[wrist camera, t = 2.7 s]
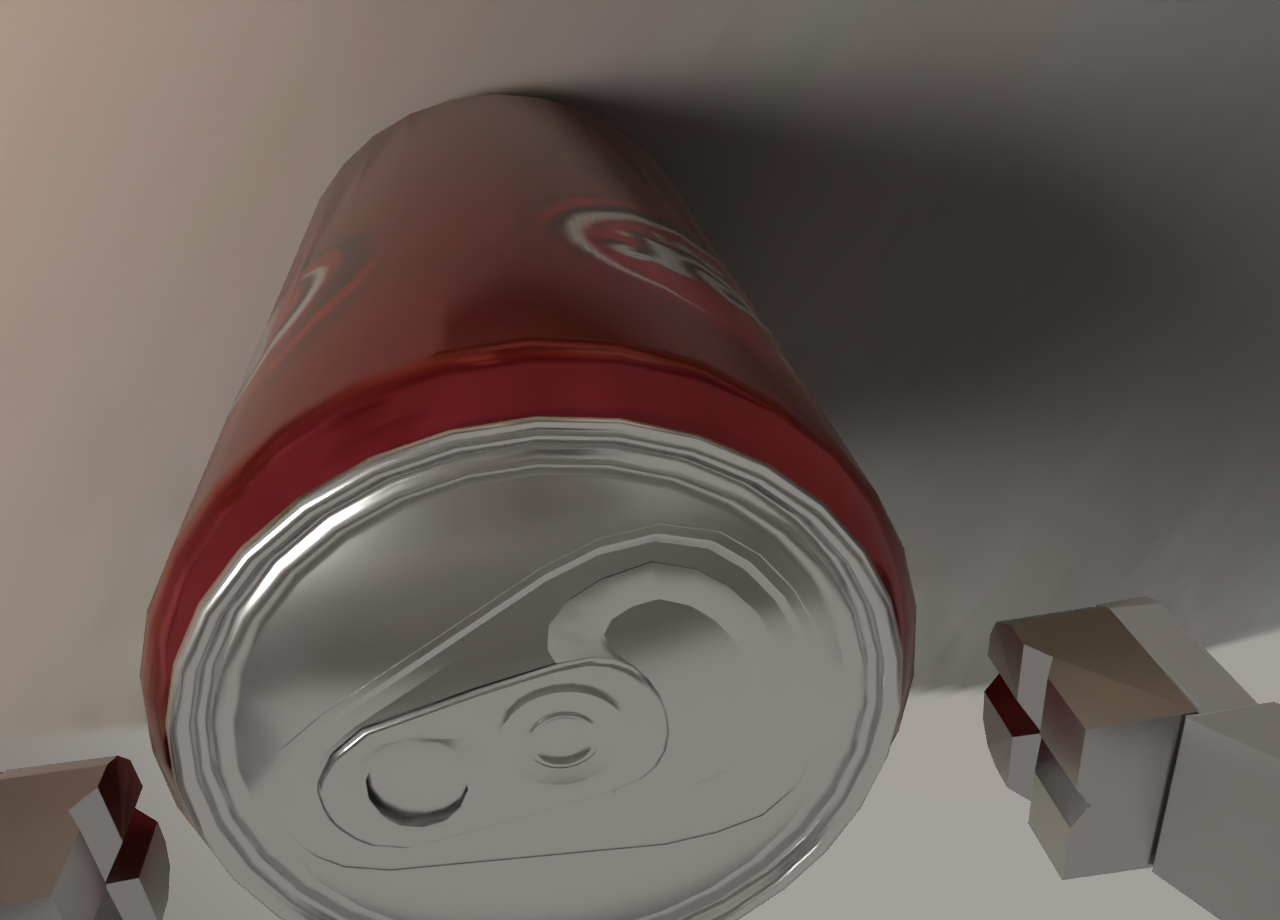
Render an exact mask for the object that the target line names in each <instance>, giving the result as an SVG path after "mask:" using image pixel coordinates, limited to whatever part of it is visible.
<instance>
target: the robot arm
mask: <svg viewBox="0 0 1280 920" xmlns="http://www.w3.org/2000/svg"><path fill="white" fill-rule="evenodd" d="M988 656H989V658H990V660H991V661H992V663H993V664H994V666H995V667H996V669H997V670H998V672H999V675H998V676H997V677H996V678H995V679H994V681H993V682H992V683H991V684H990V685H989V687H988V688H987V689H986V690H985V691H984V711H983V721H984V727H985V733H986V738H987V744H988V748H989V750H990V753H991V756H992V758H993V761H994V764H995V766H996V768H997V770H998V772H999V774H1000V775H1001V777H1002V779H1003V780H1004V782H1005V784H1006V786H1007V787H1008V788H1009V789H1011V790H1013V791H1015V792H1016V793H1018V794H1020V795H1021V796H1023V797H1025V798H1027V799H1028V800H1030V801H1031V806H1030V814H1029V825H1030V827H1031V829H1032V830H1033V832H1034V833H1035V835H1036V837H1037V839H1038V840H1039V842H1040V844H1041V845H1042V847H1043V849H1044V850H1045V852H1046V854H1047V855H1048V857H1049V859H1050V860H1051V862H1052V864H1053V866H1054V867H1055V869H1056V871H1057V872H1058V874H1059V876H1060V877H1061V879H1062V880H1066V879H1073V878H1080V877H1086V876H1093V875H1101V874H1107V873H1114V872H1121V871H1128V870H1135V869H1142V868H1149V867H1153V870H1152V872H1153V873H1155V874H1156V875H1158V876H1159V877H1160V878H1162V879H1163V880H1165V881H1166V882H1167V883H1169V884H1170V885H1172V886H1173V887H1175V888H1176V889H1177V890H1179V891H1180V892H1182V893H1183V894H1184V895H1186V896H1187V897H1189V898H1190V899H1192V900H1193V901H1194V902H1196V903H1197V904H1199V905H1200V906H1202V907H1203V908H1204V909H1206V910H1207V911H1209V912H1210V913H1211V914H1213V915H1214V916H1216V917H1217V918H1218V919H1220V920H1280V704H1278V703H1275V702H1271V703H1264V704H1257V702H1256V701H1255V700H1254V699H1253V698H1251V696H1250V695H1249V694H1248V693H1247V692H1246V691H1245V690H1244V689H1243V688H1242V687H1241V686H1240V685H1239V684H1238V683H1237V682H1236V681H1235V680H1234V679H1233V678H1232V677H1231V675H1230V674H1229V673H1228V672H1227V671H1226V670H1225V669H1224V668H1223V667H1222V666H1221V665H1220V664H1219V663H1218V662H1217V661H1216V660H1215V659H1214V658H1213V657H1212V656H1211V655H1210V654H1209V653H1208V652H1207V651H1206V649H1205V648H1204V647H1203V646H1202V645H1201V644H1200V643H1199V642H1198V641H1197V640H1196V639H1195V638H1194V637H1193V636H1192V635H1191V634H1190V633H1189V632H1188V631H1187V630H1186V629H1185V628H1184V627H1183V626H1182V625H1181V623H1180V622H1179V621H1178V620H1177V619H1176V618H1175V617H1174V616H1173V615H1172V614H1171V613H1170V612H1169V611H1168V610H1167V609H1166V608H1165V607H1164V606H1163V605H1162V604H1161V603H1160V602H1159V601H1157V600H1155V599H1152V598H1150V597H1148V596H1144V597H1139V598H1133V599H1127V600H1121V601H1116V602H1110V603H1104V604H1098V605H1096V606H1095V607H1087V608H1081V609H1074V610H1068V611H1062V612H1055V613H1049V614H1043V615H1037V616H1030V617H1024V618H1018V619H1012V620H1005V621H999V622H996V624H995V626H994V628H993V630H992V632H991V634H990V642H989V651H988ZM142 787H143V786H142V784H141V782H140V780H139V778H138V776H137V774H136V771H135V769H134V767H133V765H132V763H131V761H130V760H129V759H126V758H123V757H120V756H112V757H104V758H96V759H88V760H80V761H72V762H66V763H57V764H49V765H42V766H34V767H26V768H18V769H11V770H6V771H5V772H0V920H162V919H163V915H164V912H165V908H166V905H167V901H168V892H169V872H170V864H169V858H168V853H167V847H166V842H165V839H164V837H163V834H162V832H161V829H160V827H159V824H158V822H157V821H155V820H154V819H152V818H150V817H149V816H147V815H146V814H144V813H142V812H141V811H139V810H137V809H136V808H135V806H136V803H137V801H138V798H139V795H140V792H141V790H142Z"/></svg>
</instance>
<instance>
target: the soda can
mask: <svg viewBox="0 0 1280 920" xmlns="http://www.w3.org/2000/svg"><path fill="white" fill-rule="evenodd" d="M915 632H916V603H915V598H914V594H913V589H912V584H911V579H910V575H909V570H908V565H907V560H906V556H905V551H904V547H903V545H902V543H901V541H900V539H899V537H898V535H897V533H896V531H895V529H894V527H893V525H892V523H891V521H890V519H889V517H888V515H887V513H886V511H885V509H884V507H883V505H882V503H881V501H880V499H879V497H878V495H877V493H876V491H875V490H874V488H873V487H872V485H871V484H870V482H869V481H868V479H867V478H866V476H865V474H864V473H863V471H862V470H861V468H860V467H859V465H858V464H857V462H856V461H855V459H854V458H853V456H852V455H851V453H850V452H849V450H848V449H847V447H846V446H845V444H844V443H843V441H842V440H841V438H840V437H839V435H838V433H837V432H836V430H835V429H834V427H833V426H832V424H831V423H830V421H829V420H828V418H827V417H826V415H825V414H824V412H823V411H822V409H821V408H820V406H819V405H818V403H817V402H816V400H815V399H814V397H813V395H812V394H811V392H810V391H809V389H808V388H807V386H806V385H805V383H804V382H803V380H802V379H801V377H800V376H799V374H798V373H797V371H796V370H795V368H794V367H793V365H792V364H791V362H790V361H789V359H788V358H787V356H786V354H785V353H784V351H783V350H782V348H781V347H780V345H779V344H778V342H777V341H776V339H775V338H774V336H773V335H772V333H771V332H770V330H769V329H768V327H767V326H766V324H765V323H764V321H763V320H762V318H761V317H760V315H759V313H758V312H757V310H756V309H755V307H754V306H753V304H752V303H751V301H750V300H749V298H748V297H747V295H746V294H745V292H744V291H743V289H742V288H741V286H740V285H739V283H738V282H737V280H736V279H735V277H734V275H733V274H732V272H731V271H730V269H729V268H728V266H727V265H726V263H725V262H724V260H723V259H722V257H721V256H720V254H719V253H718V251H717V250H716V248H715V247H714V245H713V244H712V242H711V241H710V239H709V238H708V236H707V234H706V233H705V231H704V230H703V228H702V227H701V225H700V224H699V222H698V221H697V219H696V218H695V216H694V215H693V213H692V212H691V210H690V209H689V207H688V206H687V204H686V203H685V201H684V200H683V198H682V197H681V195H680V193H679V192H678V190H677V189H676V187H675V186H674V185H673V183H672V182H671V181H670V180H669V178H668V177H667V176H666V175H665V174H664V172H663V171H662V170H661V169H660V168H659V166H658V165H657V164H656V163H655V161H654V160H653V159H652V158H651V157H650V155H649V154H648V153H646V152H645V151H644V150H643V149H641V148H640V147H639V146H638V145H636V144H635V143H634V142H633V141H631V140H630V139H629V138H628V137H627V136H625V135H624V134H623V133H622V132H620V131H619V130H618V129H617V128H615V127H613V126H611V125H609V124H607V123H605V122H603V121H601V120H599V119H597V118H595V117H593V116H591V115H589V114H588V113H586V112H584V111H582V110H580V109H577V108H573V107H570V106H566V105H563V104H559V103H556V102H552V101H549V100H545V99H541V98H538V97H526V96H513V95H500V94H491V95H484V96H476V97H468V98H460V99H453V100H449V101H446V102H443V103H441V104H438V105H435V106H432V107H429V108H426V109H423V110H420V111H417V112H415V113H412V114H410V115H408V116H406V117H405V118H403V119H401V120H400V121H398V122H396V123H395V124H393V125H391V126H390V127H388V128H386V129H385V130H383V131H381V132H380V133H378V134H376V135H375V136H373V137H372V138H371V139H370V140H369V141H368V142H367V143H366V144H365V145H364V146H363V147H362V148H361V149H360V150H358V151H357V152H356V153H355V154H354V155H353V156H352V157H351V158H350V159H349V160H348V161H347V162H346V163H345V164H344V165H343V166H342V167H341V169H340V170H339V172H338V173H337V175H336V176H335V178H334V179H333V180H332V182H331V183H330V185H329V186H328V188H327V189H326V191H325V192H324V194H323V195H322V197H321V198H320V200H319V202H318V205H317V207H316V209H315V212H314V214H313V216H312V219H311V221H310V224H309V226H308V228H307V231H306V233H305V235H304V238H303V240H302V242H301V245H300V247H299V249H298V252H297V254H296V257H295V259H294V261H293V264H292V266H291V268H290V271H289V273H288V275H287V278H286V280H285V282H284V285H283V287H282V290H281V292H280V294H279V297H278V299H277V301H276V304H275V306H274V308H273V311H272V313H271V316H270V318H269V320H268V323H267V325H266V327H265V330H264V332H263V334H262V337H261V339H260V341H259V344H258V346H257V349H256V351H255V353H254V356H253V358H252V360H251V363H250V365H249V367H248V370H247V372H246V375H245V377H244V379H243V382H242V384H241V386H240V389H239V391H238V393H237V396H236V398H235V400H234V403H233V405H232V408H231V410H230V412H229V415H228V417H227V419H226V422H225V424H224V426H223V429H222V431H221V434H220V436H219V438H218V441H217V443H216V445H215V448H214V450H213V452H212V455H211V457H210V459H209V462H208V464H207V467H206V469H205V471H204V474H203V476H202V478H201V481H200V483H199V485H198V488H197V490H196V493H195V495H194V497H193V500H192V502H191V504H190V507H189V509H188V511H187V514H186V516H185V518H184V521H183V523H182V526H181V528H180V530H179V533H178V535H177V537H176V540H175V542H174V544H173V547H172V549H171V552H170V554H169V557H168V559H167V562H166V565H165V567H164V570H163V572H162V575H161V577H160V580H159V582H158V585H157V587H156V590H155V592H154V595H153V598H152V600H151V603H150V605H149V608H148V610H147V617H146V626H145V634H144V643H143V652H142V661H141V670H140V680H141V686H142V692H143V699H144V705H145V711H146V718H147V724H148V730H149V737H150V741H151V746H152V750H153V753H154V756H155V758H156V760H157V762H158V765H159V767H160V769H161V771H162V773H163V776H164V778H165V780H166V783H167V785H168V787H169V789H170V792H171V794H172V796H173V799H174V801H175V803H176V805H177V807H178V808H179V810H180V811H181V812H182V814H183V815H184V816H185V817H186V819H187V820H188V821H189V823H190V824H191V825H192V827H193V828H194V829H195V830H196V832H197V833H198V835H199V836H200V837H201V838H202V840H203V841H204V842H205V843H206V845H207V846H208V848H209V849H210V850H211V851H212V853H213V854H214V855H215V856H216V858H217V859H218V860H219V862H220V863H221V864H222V866H223V867H224V868H225V870H226V871H227V872H228V873H229V875H230V876H231V877H232V878H233V879H234V880H235V881H236V882H237V883H238V884H240V885H241V886H242V887H243V888H244V889H245V890H247V891H248V892H249V893H250V894H251V895H253V896H254V897H255V898H256V899H258V900H259V901H260V902H261V903H262V904H263V905H264V906H266V907H267V908H268V909H269V910H270V911H272V912H273V913H274V914H275V915H276V916H278V917H279V918H281V919H283V920H738V919H740V918H741V917H743V916H745V915H746V914H747V913H749V912H751V911H752V910H753V909H755V908H756V907H758V906H760V905H761V904H763V903H764V902H766V901H767V900H769V899H770V898H772V897H773V896H775V895H776V894H778V893H779V892H781V891H782V890H784V889H785V888H786V887H787V886H788V885H789V884H791V883H792V882H793V881H794V880H795V879H796V878H797V877H798V876H800V875H801V874H802V873H803V872H804V871H805V870H806V869H807V868H808V867H810V866H811V865H812V864H813V863H814V862H815V861H816V860H817V859H818V858H820V857H821V856H822V855H823V854H824V853H825V852H826V851H827V850H828V849H829V847H830V846H831V845H832V844H833V842H834V841H835V840H836V839H837V837H838V836H839V835H840V834H841V832H842V831H843V830H844V828H845V827H846V826H847V825H848V823H849V822H850V821H851V820H852V818H853V817H854V816H855V815H856V813H857V812H858V811H859V809H860V808H861V806H862V804H863V802H864V801H865V799H866V797H867V795H868V793H869V791H870V789H871V787H872V785H873V783H874V781H875V779H876V778H877V776H878V774H879V772H880V770H881V768H882V766H883V764H884V762H885V760H886V758H887V756H888V753H889V750H890V746H891V744H892V742H893V740H894V738H895V737H896V735H897V732H898V731H899V727H900V723H901V720H902V717H903V713H904V709H905V706H906V702H907V699H908V695H909V692H910V688H911V684H912V681H913V677H914V657H915Z"/></svg>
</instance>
